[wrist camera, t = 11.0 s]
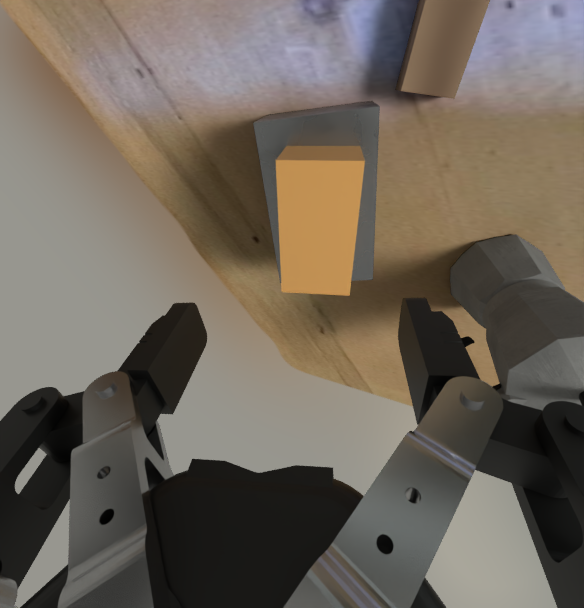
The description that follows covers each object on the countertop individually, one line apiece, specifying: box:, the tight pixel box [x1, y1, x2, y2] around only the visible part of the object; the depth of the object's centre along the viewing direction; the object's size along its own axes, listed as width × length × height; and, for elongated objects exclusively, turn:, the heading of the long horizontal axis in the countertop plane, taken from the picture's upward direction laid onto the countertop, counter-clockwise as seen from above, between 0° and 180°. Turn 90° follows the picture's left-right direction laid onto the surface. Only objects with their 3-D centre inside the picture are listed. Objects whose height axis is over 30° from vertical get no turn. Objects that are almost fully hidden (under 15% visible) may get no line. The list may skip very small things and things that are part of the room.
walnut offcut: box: [396, 0, 490, 98], centre depth 22 cm, size 4×6×3 cm, turn 173°
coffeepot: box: [450, 235, 584, 410], centre depth 27 cm, size 15×9×18 cm, turn 130°
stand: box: [253, 101, 380, 283], centre depth 28 cm, size 9×14×6 cm, turn 7°
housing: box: [276, 146, 365, 296], centre depth 24 cm, size 10×6×5 cm, turn 1°
